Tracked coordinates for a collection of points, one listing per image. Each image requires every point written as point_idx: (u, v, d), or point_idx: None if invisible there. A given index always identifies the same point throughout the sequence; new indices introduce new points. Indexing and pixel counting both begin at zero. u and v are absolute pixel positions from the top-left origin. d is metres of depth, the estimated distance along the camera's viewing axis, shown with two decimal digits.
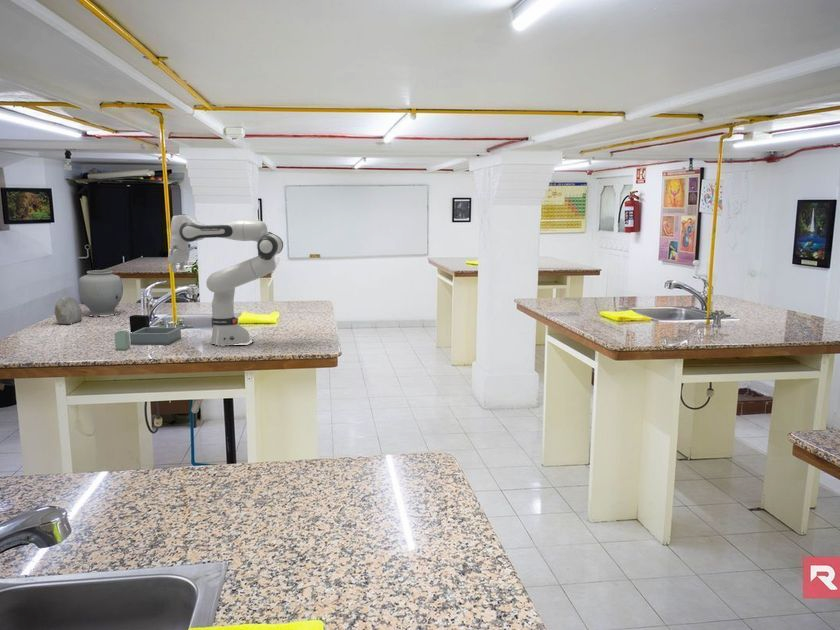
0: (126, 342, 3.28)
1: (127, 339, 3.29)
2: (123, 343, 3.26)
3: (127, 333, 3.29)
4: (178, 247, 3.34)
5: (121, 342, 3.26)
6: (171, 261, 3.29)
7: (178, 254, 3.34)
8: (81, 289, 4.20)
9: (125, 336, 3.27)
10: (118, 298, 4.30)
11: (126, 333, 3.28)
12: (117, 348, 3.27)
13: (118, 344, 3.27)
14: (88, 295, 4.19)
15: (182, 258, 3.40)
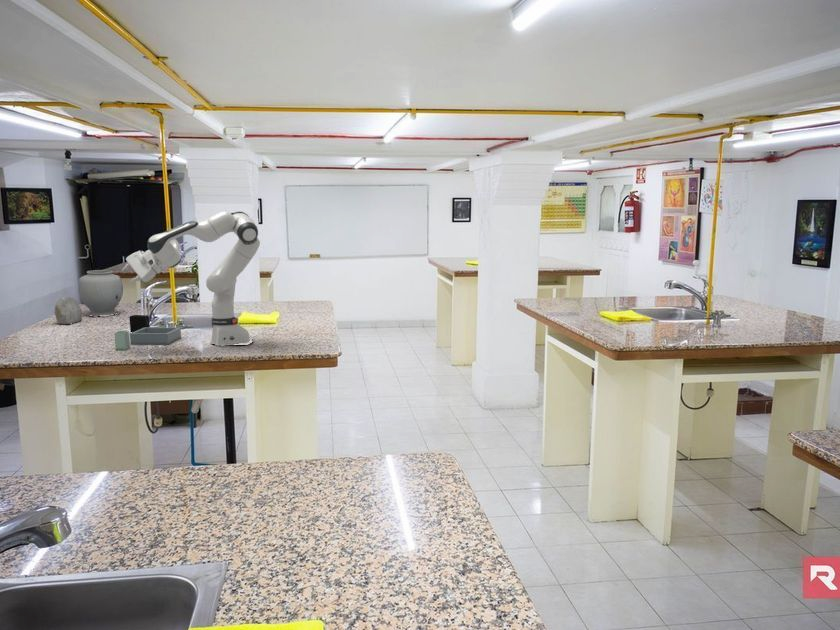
0: (126, 342, 3.28)
1: (127, 339, 3.29)
2: (123, 343, 3.26)
3: (127, 333, 3.29)
4: None
5: (121, 342, 3.26)
6: None
7: (137, 259, 3.23)
8: (81, 289, 4.20)
9: (125, 336, 3.27)
10: (118, 298, 4.30)
11: (126, 333, 3.28)
12: (117, 348, 3.27)
13: (118, 344, 3.27)
14: (88, 295, 4.19)
15: (137, 267, 3.20)
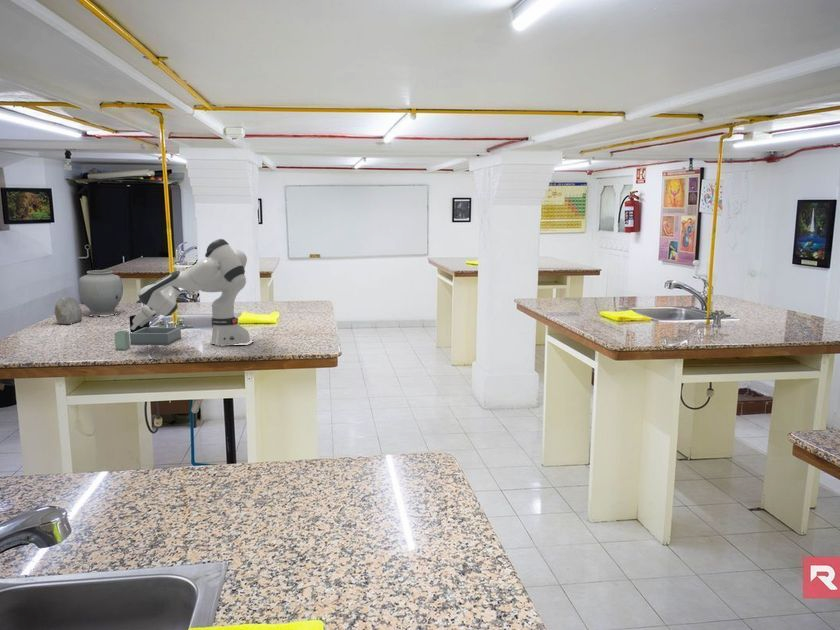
0: (126, 342, 3.28)
1: (127, 339, 3.29)
2: (123, 343, 3.26)
3: (127, 333, 3.29)
4: None
5: (121, 342, 3.26)
6: None
7: None
8: (81, 289, 4.20)
9: (125, 336, 3.27)
10: (118, 298, 4.30)
11: (126, 333, 3.28)
12: (117, 348, 3.27)
13: (118, 344, 3.27)
14: (88, 295, 4.19)
15: None
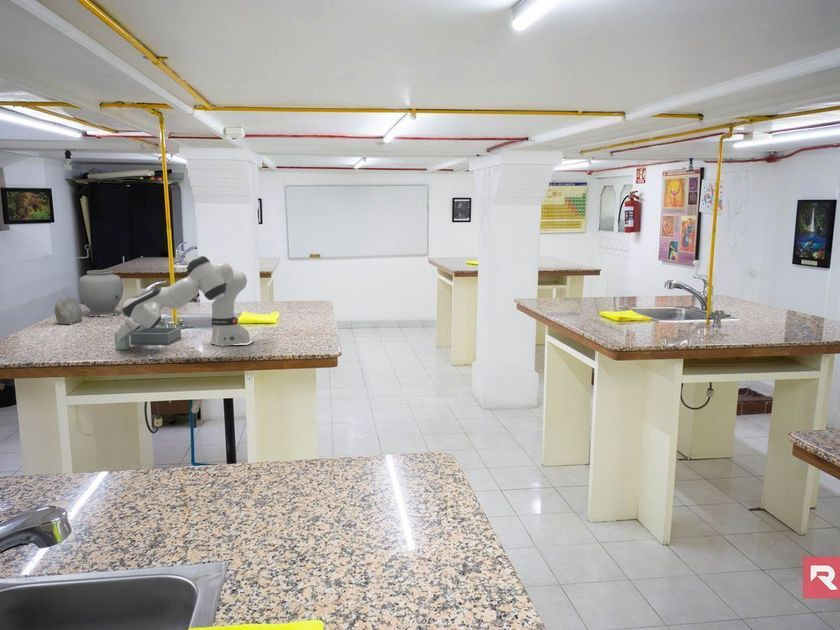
0: (126, 342, 3.28)
1: (127, 339, 3.29)
2: (123, 343, 3.26)
3: None
4: None
5: (121, 342, 3.26)
6: None
7: None
8: (81, 289, 4.20)
9: None
10: (118, 298, 4.30)
11: None
12: (117, 348, 3.27)
13: (118, 344, 3.27)
14: (88, 295, 4.19)
15: None
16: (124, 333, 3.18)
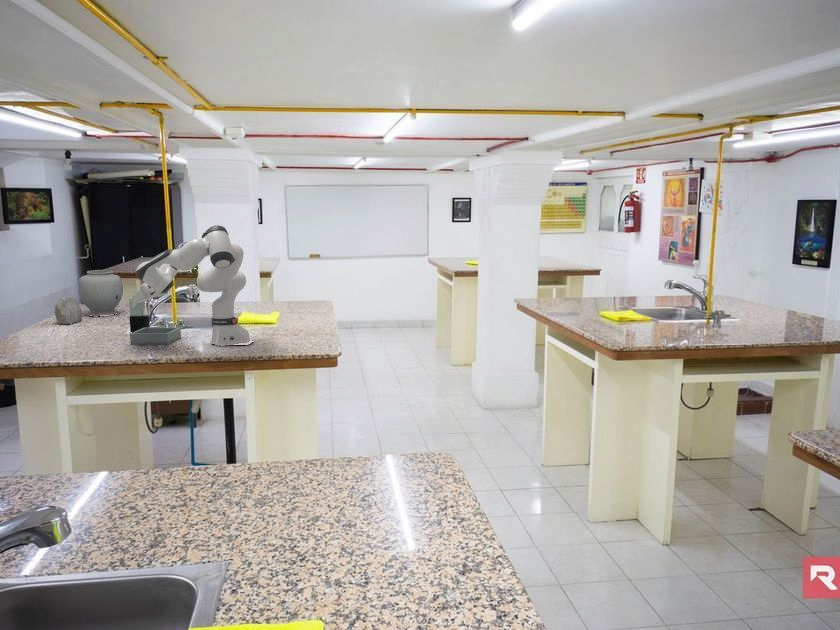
0: (140, 308, 3.35)
1: (141, 306, 3.36)
2: (137, 309, 3.33)
3: None
4: None
5: (135, 308, 3.33)
6: None
7: None
8: (81, 289, 4.20)
9: None
10: (118, 298, 4.30)
11: None
12: (132, 314, 3.33)
13: (133, 310, 3.33)
14: (88, 295, 4.19)
15: None
16: (139, 299, 3.25)
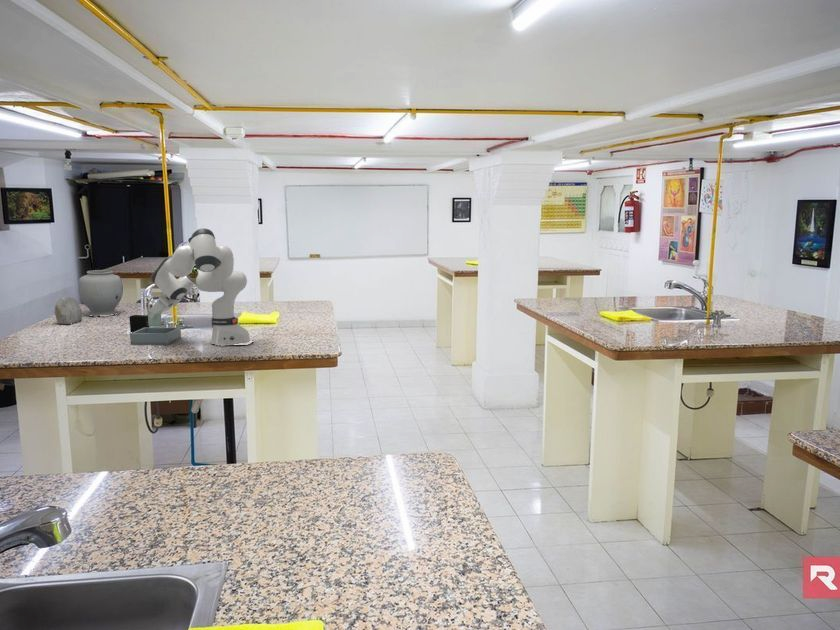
0: (158, 319, 3.46)
1: (159, 316, 3.47)
2: (156, 320, 3.44)
3: None
4: None
5: (154, 319, 3.44)
6: None
7: None
8: (81, 289, 4.20)
9: None
10: (118, 298, 4.30)
11: None
12: (150, 325, 3.45)
13: (151, 321, 3.44)
14: (88, 295, 4.19)
15: None
16: (158, 310, 3.36)
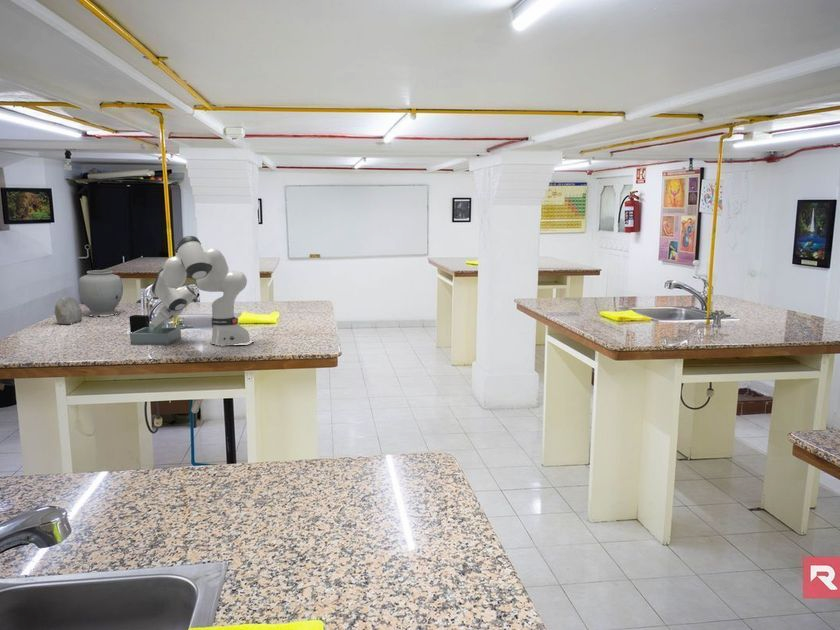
0: None
1: (160, 330, 3.49)
2: None
3: None
4: None
5: (155, 332, 3.46)
6: None
7: None
8: (81, 289, 4.20)
9: (159, 327, 3.46)
10: (118, 298, 4.30)
11: None
12: None
13: None
14: (88, 295, 4.19)
15: None
16: (158, 322, 3.37)
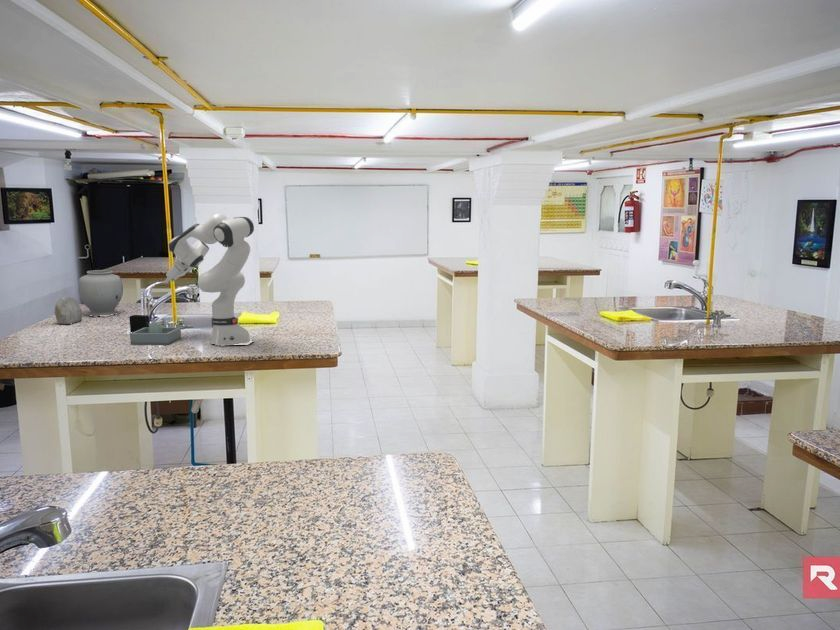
0: None
1: (160, 330, 3.49)
2: None
3: (160, 324, 3.48)
4: None
5: (155, 332, 3.46)
6: None
7: None
8: (81, 289, 4.20)
9: (159, 327, 3.46)
10: (118, 298, 4.30)
11: (159, 324, 3.47)
12: None
13: None
14: (88, 295, 4.19)
15: None
16: (173, 274, 3.46)
